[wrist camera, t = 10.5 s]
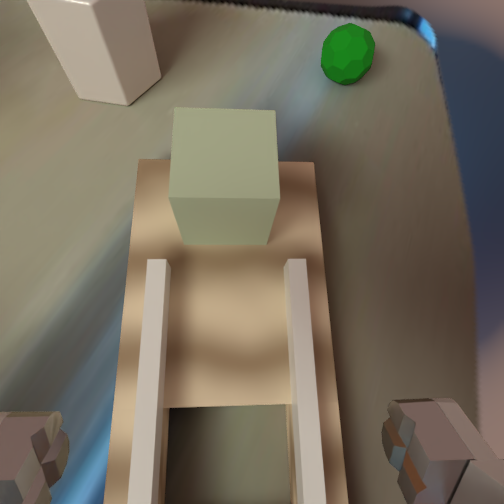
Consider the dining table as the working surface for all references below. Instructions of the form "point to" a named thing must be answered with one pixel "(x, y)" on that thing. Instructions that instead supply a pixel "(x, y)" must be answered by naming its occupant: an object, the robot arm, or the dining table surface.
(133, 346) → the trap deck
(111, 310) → the dining table surface
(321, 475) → the channel rails
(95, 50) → the jar
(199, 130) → the block
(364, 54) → the polyhedron
